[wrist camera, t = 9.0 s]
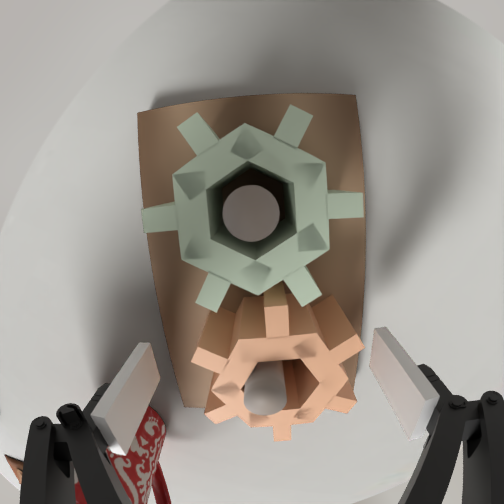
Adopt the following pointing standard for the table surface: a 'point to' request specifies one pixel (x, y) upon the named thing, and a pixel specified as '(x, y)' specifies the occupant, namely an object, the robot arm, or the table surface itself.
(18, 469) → the sunglasses case
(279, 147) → the gear
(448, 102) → the table surface
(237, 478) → the table surface
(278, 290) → the gear
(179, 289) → the gear board
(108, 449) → the mug
